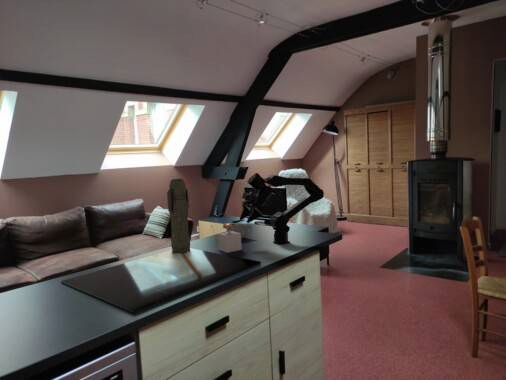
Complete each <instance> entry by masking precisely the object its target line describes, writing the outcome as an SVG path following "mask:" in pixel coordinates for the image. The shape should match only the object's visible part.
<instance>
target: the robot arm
mask: <svg viewBox="0 0 506 380" xmlns="http://www.w3.org/2000/svg"><path fill="white" fill-rule="evenodd" d="M247 184H249V186H251V187H252V188H253V190H255V191H257V190H258V192H257V193H255V192H253V191H250V192H245V191H244V192H243V193H242V196H241V199H243V201H242V202H241V207H242V212H241V214H240V216H239V220H240V221H243V220H244V219H245V218H247V217H248V216H249V217H248V218H247V220H246V223H247V224H249V223H251V222H252V221H254V220H257V219H258V218H260V217H263V216H265V215H266V214H267V213H268V212H267V211H268V210H267V208H266V207H265V206H264V204H267V203H268V200H269V198H270V197H271V195H277V189H276V188H279V187H284V186H303V187H304V189H305V194H304V196H303V197H302V198H301V199H300V200H298V201H297V202H296V203H294V204H293V205H292V206H290V207H289V208H287V209H286V210H285V211H284V212H281V211H276V213H274V214H273V215H271V217H270V219H269V225H270V226H271V228H272V229H273V232H274V233H273V241H272V243H273V244H277V245H284V244H285V245H286V244H290V243H291V241H289V232H290V229H291V227H290V226H289V225H288V224H289V220H290V219H292V218H294V216H296V215H297V214H299V213H300V212H301V211H302V210H303V209H305V208H307V207H308V206H309V205H311V204H313V203H316V202H318V201H321V200H322V199H323V198H324V197H325V196H324V195H325V194H324V193H325V192H324V190H323V189H322V188H320V187H319V185H317V184H316V183H315V182H314V181H313V180H312V179H311V178H310V177H286V176H282V175H277V174H276V175H275V174H270V175H269V176H267V177H266V178H263V177H262V176H261V175H260V174H259V173H258V172H255V173H254V174H253V175H252V176H250V177H249V178H248V179H247ZM273 187H274V188H273Z"/></svg>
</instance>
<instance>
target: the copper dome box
mask: <svg viewBox="0 0 506 380" xmlns="http://www.w3.org/2000/svg"><path fill="white" fill-rule="evenodd" d="M217 242H218V243H217V246H218V250H219V251H221V252H223V253H227V254H228V253H233V252H238V251H242V239H241V233H237V232H234V231H230V234H228V232H227V231H225V232H219V233H217Z"/></svg>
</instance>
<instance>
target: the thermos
mask: <svg viewBox="0 0 506 380" xmlns="http://www.w3.org/2000/svg"><path fill="white" fill-rule="evenodd" d="M186 186H187V185H186V182H185V179H182V178H172V179H170V182H169V187H168V188H169V189H168V190H167V192H166V196H167V199H166V200H167V209H168V212H169V218H170V224H171V225H170V227H171V237H170V242H171V243H170V244H171V251H172V252H173V253H172V252H171V253H172V254H175V253H182V254H187V253H190V252H191V236H190V233H189V220H188V218H189V217H188V216H189V208H190V200H189V190H188V188H186Z"/></svg>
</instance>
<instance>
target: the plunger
mask: <svg viewBox="0 0 506 380" xmlns="http://www.w3.org/2000/svg"><path fill="white" fill-rule="evenodd" d="M230 228H235V223H234V222H229V223H228V222H227V223H226V222H225V223H223V224H222V229H226V230H227V229H228V234H230Z"/></svg>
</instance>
